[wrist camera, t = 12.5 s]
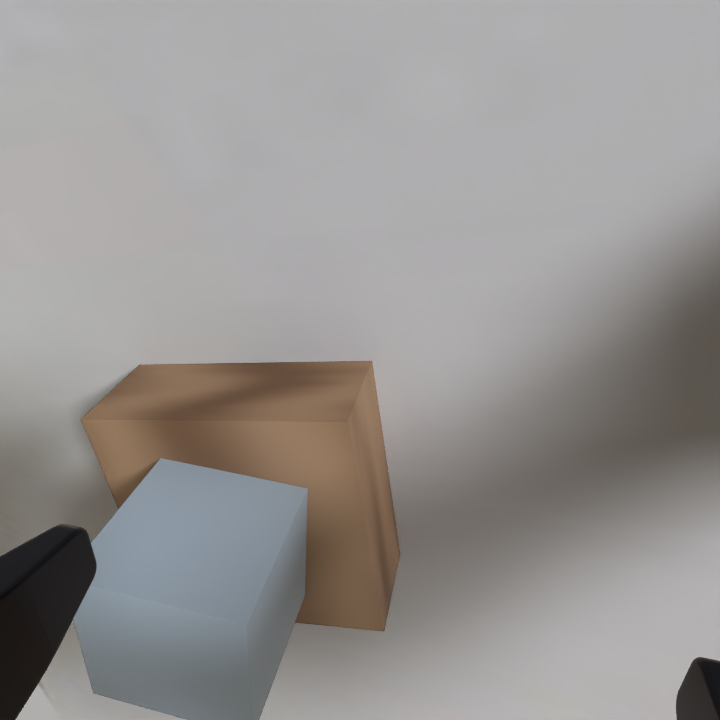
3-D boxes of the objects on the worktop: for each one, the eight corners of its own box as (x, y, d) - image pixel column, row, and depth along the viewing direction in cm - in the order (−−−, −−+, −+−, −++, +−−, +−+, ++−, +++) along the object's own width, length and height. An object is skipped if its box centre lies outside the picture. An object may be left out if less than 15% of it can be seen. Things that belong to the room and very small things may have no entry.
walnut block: (374, 355, 21) (347, 422, 17) (401, 547, 25) (383, 631, 21) (144, 360, 23) (80, 419, 19) (205, 534, 27) (160, 608, 24)
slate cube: (307, 488, 19) (246, 624, 14) (305, 594, 21) (252, 737, 17) (160, 458, 20) (62, 578, 15) (174, 563, 22) (93, 693, 18)
